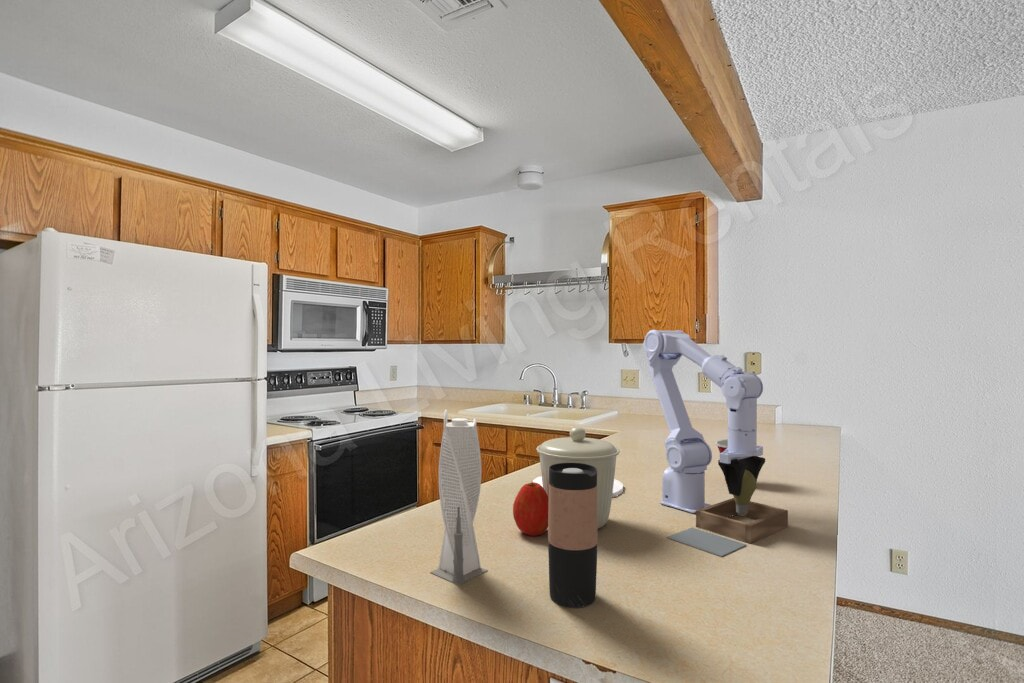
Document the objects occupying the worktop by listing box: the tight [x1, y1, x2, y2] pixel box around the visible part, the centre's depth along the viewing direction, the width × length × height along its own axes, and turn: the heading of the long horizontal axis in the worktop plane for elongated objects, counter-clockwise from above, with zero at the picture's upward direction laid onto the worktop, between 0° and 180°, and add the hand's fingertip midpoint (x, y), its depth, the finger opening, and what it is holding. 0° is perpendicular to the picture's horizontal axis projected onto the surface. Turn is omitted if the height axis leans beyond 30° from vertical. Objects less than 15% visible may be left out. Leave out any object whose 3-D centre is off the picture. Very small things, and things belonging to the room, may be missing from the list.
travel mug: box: [547, 463, 599, 609], centre depth 81 cm, size 8×8×20 cm
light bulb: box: [732, 470, 757, 517], centre depth 112 cm, size 6×6×10 cm
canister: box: [536, 426, 621, 530], centre depth 114 cm, size 18×18×21 cm
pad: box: [666, 527, 747, 558], centre depth 104 cm, size 12×9×1 cm
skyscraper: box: [429, 408, 489, 586], centre depth 90 cm, size 8×8×28 cm
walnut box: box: [695, 497, 789, 545], centre depth 112 cm, size 12×16×4 cm
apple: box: [512, 481, 549, 537], centre depth 109 cm, size 8×8×11 cm
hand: (741, 492), depth 112 cm, fingers closed on light bulb, 5 cm apart
